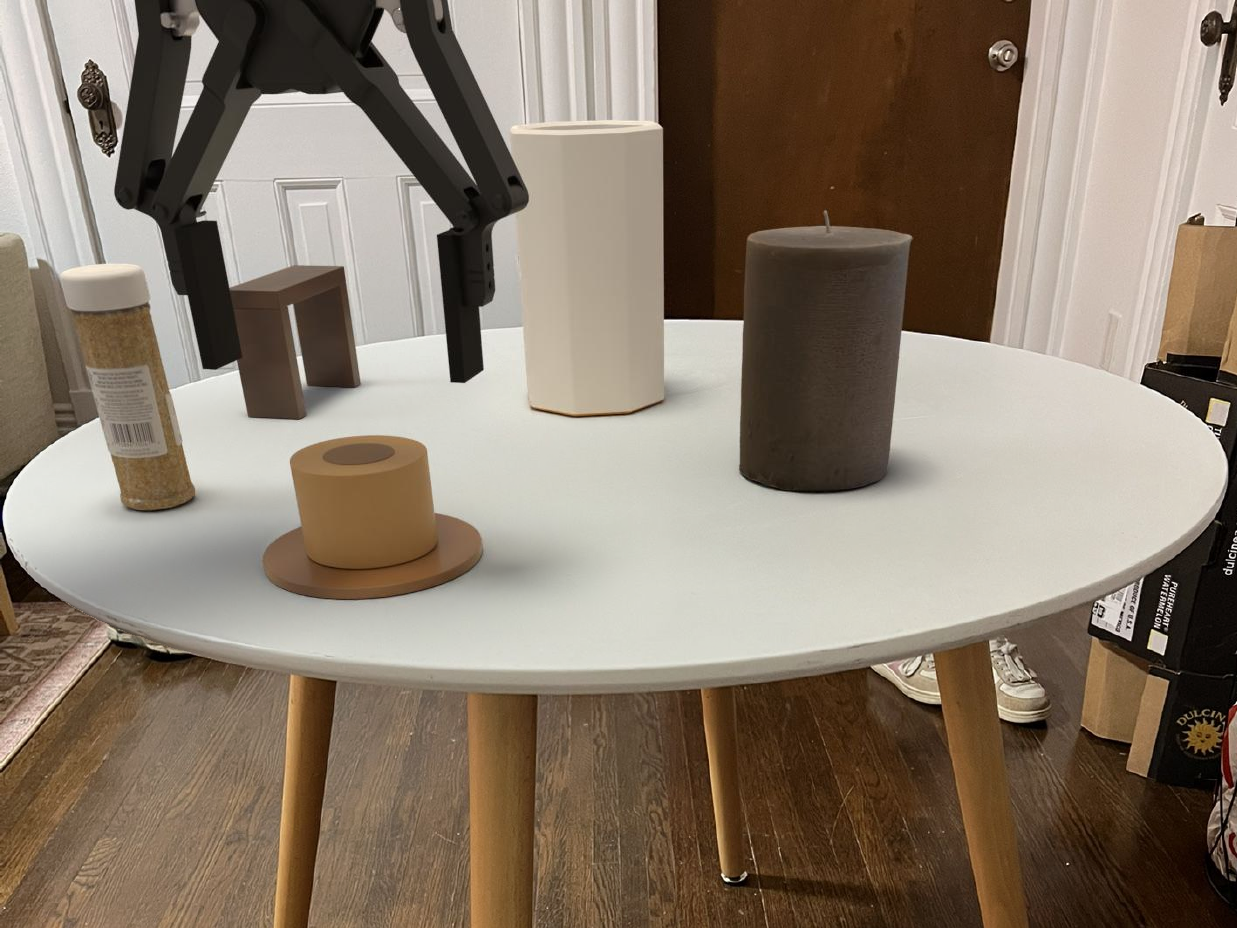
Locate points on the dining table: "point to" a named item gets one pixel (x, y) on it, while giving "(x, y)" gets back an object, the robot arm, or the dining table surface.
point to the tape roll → (365, 501)
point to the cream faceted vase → (592, 264)
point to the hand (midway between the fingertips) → (342, 370)
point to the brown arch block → (271, 342)
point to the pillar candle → (820, 355)
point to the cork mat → (310, 578)
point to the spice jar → (129, 383)
